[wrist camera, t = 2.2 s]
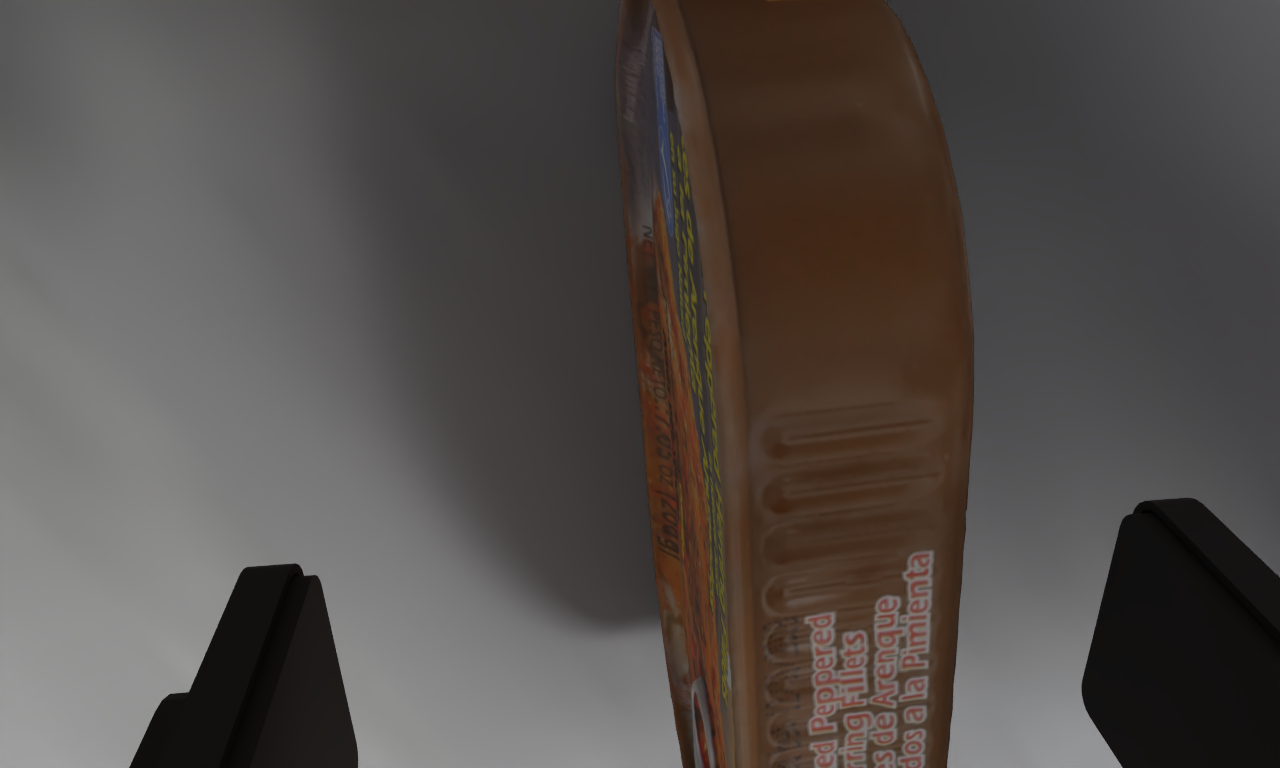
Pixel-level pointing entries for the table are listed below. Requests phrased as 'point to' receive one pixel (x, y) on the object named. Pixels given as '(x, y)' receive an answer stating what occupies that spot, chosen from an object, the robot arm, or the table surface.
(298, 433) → the table surface
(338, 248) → the table surface
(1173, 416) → the table surface
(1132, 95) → the table surface
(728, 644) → the tin
